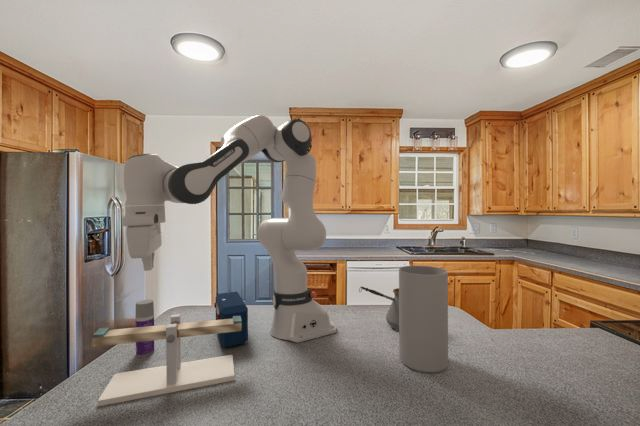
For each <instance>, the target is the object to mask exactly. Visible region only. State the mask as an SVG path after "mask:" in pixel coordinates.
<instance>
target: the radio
mask: <svg viewBox="0 0 640 426" xmlns="http://www.w3.org/2000/svg"><path fill="white" fill-rule="evenodd" d="M213 306H214V309H215V320H222V319H233V316H241V320H242V325H241V331H236V332H226V333H217V336H218V340H219V343H220V345H221V347H223V348H227V347H235V346H239V345H244V344H246V343H247V341H248V339H249V319H248V318H249V317H248V316H249V315H248V314H249V313H248V312H249V310H248V309H249V308H248V307H247V305H246V303H245V302H244V300H243V298H242V297H241V295H240V293H239V292H238V291H231V292H230V291H228V292H223V293H221V292H220V293H218V294H216V296H215V302H214V305H213Z"/></svg>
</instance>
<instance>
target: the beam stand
mask: <svg viewBox="0 0 640 426" xmlns="http://www.w3.org/2000/svg"><path fill="white" fill-rule="evenodd" d="M173 322H178V323H181V313H175V314H171V316H170V323H168V324H166V325H167V327H166V339H165V344H166V345H165V346H166V347H165V349H166V351H165V353H166V354H165V355H166V356H165V357H166V358H165V359H166V361H165V363H166V365H159V366H155V367H148V368H147V367H146V368H142V369H135V370H129V371H122V372H117V373H114V375H113V376H112V378H111V379H110V381H109V382H108V384H107V385H106V387H105V389H104V390H103V392H102V393H101V395H100V397H99V398H98V400H97V407H102V406H107V405H108V406H109V405H112V404H117V403H124V402H128V401H134V400H138V399H143V398H148V397H149V398H150V397H155V396H158V395H164V394H165V395H166V394H169V393H175V392H180V391H186V390H190V389H191V390H192V389H195V388H201V387H202V388H203V387H206V386H212V385H216V384H221V383H227V382H228V383H229V382H233V381H235V379H236V378H235V368H234V367H235V366H234V357H233V354H228V355H222V356H215V357H209V358H204V359H197V360H191V361H185V362H182V349H181V348H182V343H181V340H182V339H181V338H182V337H180V338H177V324H171V323H173Z"/></svg>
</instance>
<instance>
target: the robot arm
mask: <svg viewBox="0 0 640 426" xmlns="http://www.w3.org/2000/svg"><path fill="white" fill-rule="evenodd" d="M311 150H312V132H311V129H310V127H309V125H308V124H307V122H305V121H304V120H302V119H298V118H293V119H290V120H287V121H285V122H284V123H283V124H282V125H280V126H278V127H277V126H275V125H274V124H273V122H272V120H270V118H269V117H267V116H265V115H262V114H258V115H255V116H251V117H248V118H247V119H245V120H243V121H241V122H239V123H237V124H236V125H233V127H231V128H230V129H228V130H227V131H226V132H225V133H224V134H223V135H222V136H221V139H220V148H219V149H218V150H215V152H213V153H212V154H211V155H208V156H207V157H206V158H205V159H204V160H202V161H200V162H192V163H187V164H183V165H181V166H176V165H174V164H172V163H170V162H168V161H167V160H165V159H163V158H161V157H160V155H158V154H157V153H142V154H141V153H139V154H135V155H132V156H130V157H128V158H127V159H126V160H125V162H124V166H123V190H124V193H125V198H126V200H125V202H124V215H123V217H122V225H123V227H126V229H125V234H126V235H125V236H126V243H127V248H128V254H129V257H130V259H141V262H142V265H143V266H142V267H143V270H144V271H145V272H146V271H152V269H153V268H154V267H155V266H154V264H155V263H154V262H155V256H156V255H155V252H156V251H157V250H158V249H159V248H160V247H162V231H161V224H162V223H166V209H165V208H166V207H165V206H166V205H165V203H166V201H167V202H170V203H175V204H188V205H197V204H201V203H203V202H204V201H207V199H208V198H209V197H210V195H211V194H212V193H213V191H214V189H215V187H216V186H217V184H218V182H220V180H221V179H223V177H225V176H226V175H227V174H228V173H230V172H231V171H232V170H233V169H234V168H236V167H237V166H238V165H240V164H243V163H245V162H247V161H249V160H250V159H252V158H254V157H255V156H257V155H258V154H259V153H260V152H262V154H263V155H264V156H265V158H266V159H268V161H270V162H272V163H282V162H285V164H286V165H285V166H286V172H285V176H284V179H283V180H284V181H283V185H282V193H281V200H282V203H283V204H284V205H285V206H286V207H288V208H289V209H290V217H273V218H268V219H264V220H262V221H261V222H260V223H259V225H258V228H257V230H256V231H257V232H256V235H257V240H258V242H259V244H260V245H262V246H263V248H264V249H265V250H266V252H267V253H268V254H269V257H270V259H271V262H272V266H273V271H274V272H273V273H274V290H273V296H272V297H273V298H272V299H273V302H272V303H273V308H274V311H273V320H272V325H271V328H270V331H269V332H270V335H271V336H272V337H274V338H276V339H279V340H286V341H290V342H294V343H302V342H305V341H309V340H313V339H317V338H321V337H324V336H328V335H329V336H330V335H332V334H335V333H336V332H337V326H336V324H335V323H334V322H333V321H332V320H331V319H330V316H329V313H328V311H327V309H326V308H325V307H324V306H323V305H322V304H320V303H318V302H317V301H316V300H314V299H317V297H318V294H317V293H316V292H315V291H313V290H311V289H309V288H308V268H307V266H306V264H305V263H304V262H303V261H301V260H300V259H299V258H298V256H297V254H296V252H295V251H302V252H303V251H304V252H306V251H312V250H319V249H321V248H322V247H323V246H324V243H325V242H326V240H327V239H326V238H327V230H326V227H325V225H324V223H323V222H322V221H321V220H320V219H319V218H318V217H317V214H316V213H315V209H314V193H315V192H314V191H315V185H316V177H317V163H316V158H315V157H314V156H313V154H311V153H310V152H311Z"/></svg>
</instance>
